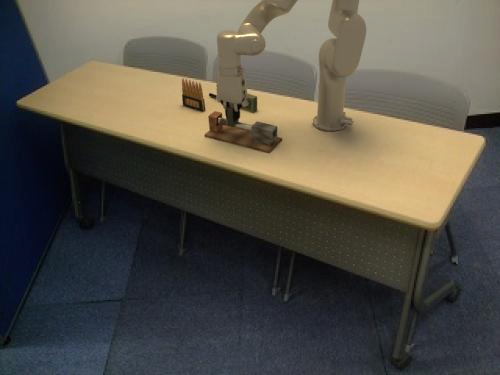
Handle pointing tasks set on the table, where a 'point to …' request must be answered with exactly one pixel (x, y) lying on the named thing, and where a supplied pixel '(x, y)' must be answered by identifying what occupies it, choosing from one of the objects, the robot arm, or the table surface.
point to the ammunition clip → (192, 95)
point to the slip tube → (231, 122)
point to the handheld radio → (251, 100)
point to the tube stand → (244, 134)
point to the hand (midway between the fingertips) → (232, 118)
